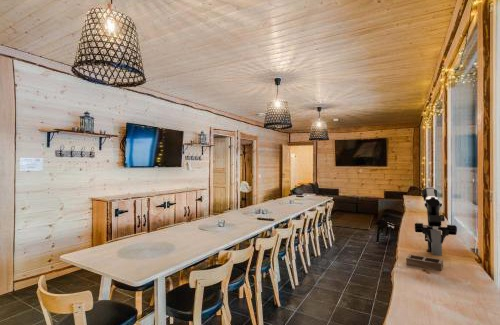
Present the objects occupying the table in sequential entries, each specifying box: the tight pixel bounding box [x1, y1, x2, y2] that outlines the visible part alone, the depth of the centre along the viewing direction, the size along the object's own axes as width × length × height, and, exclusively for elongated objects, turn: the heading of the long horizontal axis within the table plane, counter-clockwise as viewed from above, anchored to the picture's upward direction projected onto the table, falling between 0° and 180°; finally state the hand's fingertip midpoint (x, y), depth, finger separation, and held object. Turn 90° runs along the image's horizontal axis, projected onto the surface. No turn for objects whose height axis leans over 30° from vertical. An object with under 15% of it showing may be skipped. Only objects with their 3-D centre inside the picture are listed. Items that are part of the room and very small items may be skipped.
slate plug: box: [430, 226, 443, 257], centre depth 143 cm, size 5×5×15 cm
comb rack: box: [405, 254, 444, 272], centre depth 146 cm, size 8×16×4 cm, turn 49°
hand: (436, 242), depth 142 cm, fingers closed on slate plug, 5 cm apart
